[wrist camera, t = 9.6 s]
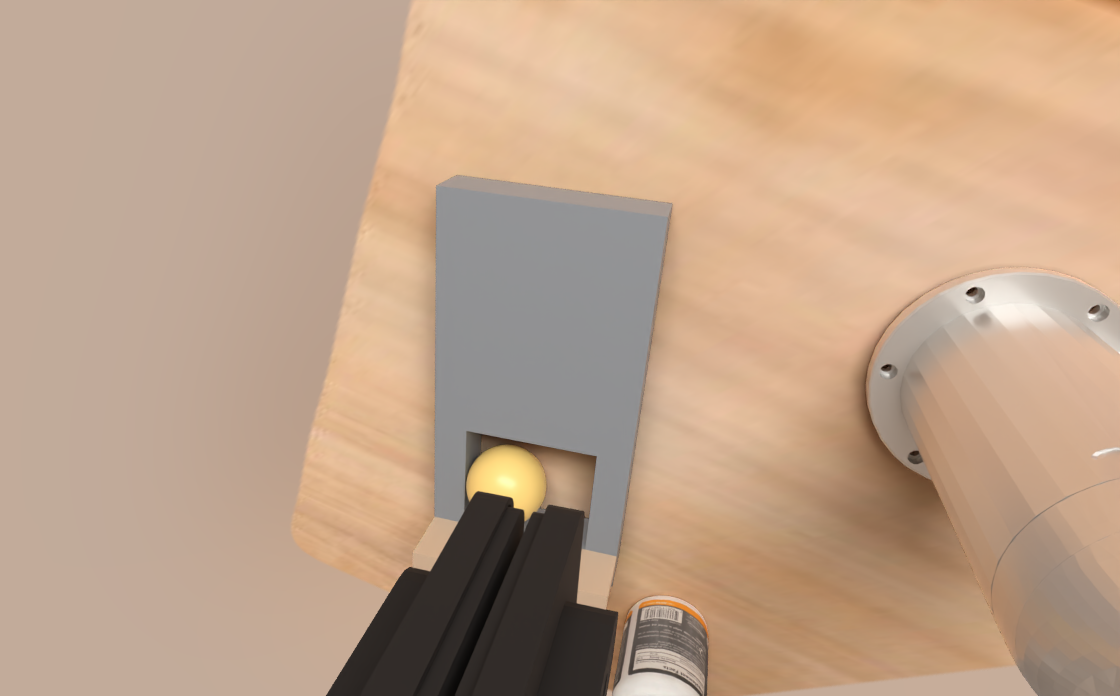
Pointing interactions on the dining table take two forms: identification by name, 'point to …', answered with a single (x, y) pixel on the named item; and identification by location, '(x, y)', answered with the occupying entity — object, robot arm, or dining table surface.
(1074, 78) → the dining table surface
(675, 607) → the pill bottle
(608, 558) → the board
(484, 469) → the ball
